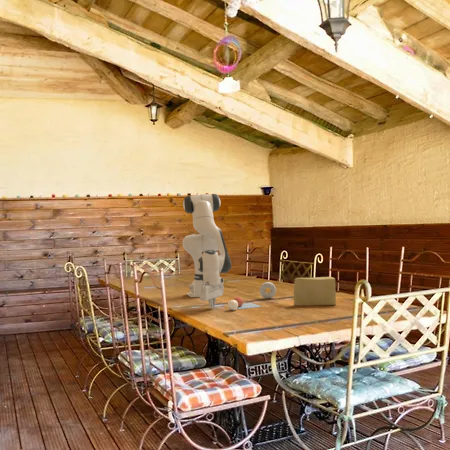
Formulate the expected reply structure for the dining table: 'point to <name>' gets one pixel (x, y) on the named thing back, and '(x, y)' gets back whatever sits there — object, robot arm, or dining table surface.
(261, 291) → the donut
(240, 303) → the red ball
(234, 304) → the cue ball
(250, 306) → the mark
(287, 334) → the dining table surface
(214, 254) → the robot arm
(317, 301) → the olive tan box
